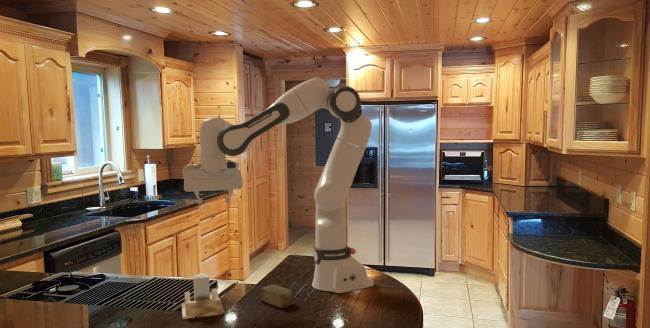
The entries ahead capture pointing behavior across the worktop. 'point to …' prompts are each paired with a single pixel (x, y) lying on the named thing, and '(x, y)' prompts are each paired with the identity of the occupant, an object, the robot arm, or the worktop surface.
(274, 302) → the stone block
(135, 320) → the worktop surface
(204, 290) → the block
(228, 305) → the worktop surface
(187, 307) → the cradle
